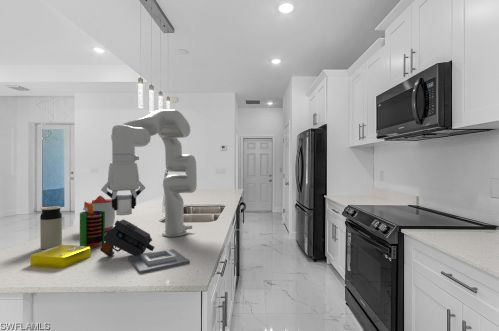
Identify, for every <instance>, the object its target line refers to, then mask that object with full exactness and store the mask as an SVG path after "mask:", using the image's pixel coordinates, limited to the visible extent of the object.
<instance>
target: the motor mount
mask: <svg viewBox="0 0 499 331" xmlns="http://www.w3.org/2000/svg"><path fill="white" fill-rule="evenodd" d="M128 261H129V262H130V263H131V265H132V266H133V267H134V268H135V269H136V271H137V272H138V273H139V274H145V273H151V272H156V271H159V270H164V269H169V268H175V267H178V266H182V265H184V266H185V265H188V264H191V263H190V262H191V261H190V259H188V258H187V257H186V256H185V255H183V254H181V253H180V252H178V251H176V249H161V250H160V249H159V250H155V251H154V250H153V251H150V252H144V253H143V254H141V255H137V256H134V255H131V256H128Z"/></svg>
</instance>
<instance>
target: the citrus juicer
mask: <svg viewBox="0 0 499 331" xmlns="http://www.w3.org/2000/svg"><path fill="white" fill-rule="evenodd" d="M83 203H88V201H84V202H83ZM91 203H92V205H93V211H95V210H100V211H105V233H107V231H108V230H109V229H110V228H113V227H114V225H115V219H116V210H114V208H112V198H111V199H110V198H109V199H107V198H106V199H105V198H104V197H103V195H98V197H96V198H95V199H92V200H91ZM82 210H83V211H84V212H85V211H88V208H87V207H83V209H82Z"/></svg>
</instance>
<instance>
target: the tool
mask: <svg viewBox="0 0 499 331" xmlns="http://www.w3.org/2000/svg"><path fill="white" fill-rule="evenodd" d="M104 241H105V243H104V244H102V246H101V247H99V248H100V249H99V250H100V252H102V253H103V254H104V255H105V256H107V257H108V258H111V257H113V255H115V252H121V251H124V252H126V253H128V254H130V255H131V256H137V255H141V254H143V253H146V250H149V251H150V252H154V250H155V247H156V246H154V245H152V244H150V243H151V242H152V241H153V238H152V237H151V234H150V233H149V232H147V231H145V230H144V229H141V228H140V227H138V226H137V225H135V224H133V223H132V222H130V221H128V220H125V219H121V220H118V219H117V220H116V221H114V226H113V227H112V228H110V229H109V230H108V231H106V232H105V236H104Z"/></svg>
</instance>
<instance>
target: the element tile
mask: <svg viewBox="0 0 499 331" xmlns="http://www.w3.org/2000/svg"><path fill="white" fill-rule="evenodd" d="M29 257H30V259H29V260H30V261H29V263H30V267H34V268H35V267H36V268H46V269H54V268H55V269H64V268H68V267H70V266H72V265H74V264H77V263H79V262H80V263H81V261H85V260H87V259H89V258H91V249H90V247H88V246H80V245H74V244H73V245H71V244H62V245H60V246H57V247H54V248H50V249H47V250H44V249H43V250H41V251H39V252H36V253H32V254H30V256H29Z"/></svg>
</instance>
